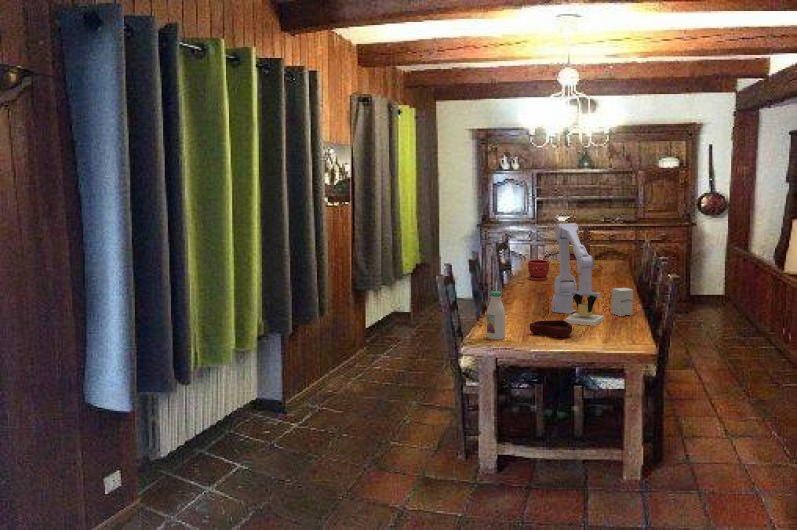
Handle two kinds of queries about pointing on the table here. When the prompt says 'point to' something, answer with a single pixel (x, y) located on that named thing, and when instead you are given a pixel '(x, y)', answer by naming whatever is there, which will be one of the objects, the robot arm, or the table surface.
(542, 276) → the plant pot
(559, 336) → the ashtray
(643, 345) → the table surface
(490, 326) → the milk bottle
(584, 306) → the block
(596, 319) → the base
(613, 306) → the supplement box
